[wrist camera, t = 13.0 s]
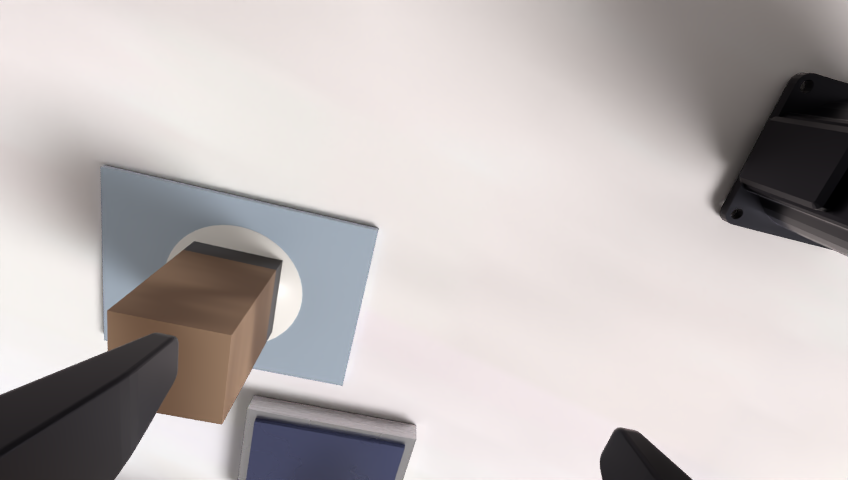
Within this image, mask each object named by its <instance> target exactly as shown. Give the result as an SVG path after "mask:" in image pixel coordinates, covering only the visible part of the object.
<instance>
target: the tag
mask: <svg viewBox="0 0 848 480" xmlns="http://www.w3.org/2000/svg"><path fill="white" fill-rule="evenodd" d="M101 208H102V256H103V305H104V340H106V341H108V337H107V310H108V309H110V308H111V307H112V306H113V305H115V304H116V303H117V302H118V301H120V300H121V299H122V298H124V297H125V296H126V295H127V294H129V293H130V292H131V291H132V290H134V289H135V288H136V287H137V286H139V285H140V284H141V283H142V282H144V281H145V280H146V279H147V278H149V277H150V276H151V275H152V274H154V273H155V272H156V271H157V270H159V269H160V268H161V267H162V266H164V265H165V264H166V263H167V262H169V261H170V260H171V259H172V258H174V257H175V256H176V255H177V254H179V253H180V252H181V251H182V250H184V249H185V248H186V247H187V246H189V245H190V244H191V243H192V242H194V241H196V242H201V243H205V244H210V245H214V246H219V247H223V248H228V249H233V250H237V251H242V252H246V253H251V254H255V255H260V256H264V257H269V258H274V259H278V260H283V262H282V269H281V276H280V283H279V289H278V296H277V303H276V309H275V316H274V323H273V330H272V333H271V335H270V337H269V339H268V340H267V342H266V344H265V346H264V348H263V350H262V351H261V353H260V355H259V357H258V359H257V361H256V363H255V364H254V366H253V368H252V369H257V370H263V371H268V372H273V373H278V374H283V375H289V376H294V377H299V378H304V379H310V380H315V381H320V382H325V383H330V384H336V385H341V386H342V385H343V381H344V376H345V372H346V368H347V363H348V359H349V355H350V350H351V346H352V342H353V337H354V333H355V329H356V324H357V320H358V316H359V311H360V307H361V303H362V298H363V294H364V290H365V285H366V281H367V277H368V272H369V268H370V264H371V259H372V255H373V251H374V246H375V242H376V238H377V233H378V229H379V228H374V227H370V226H366V225H361V224H357V223H353V222H349V221H344V220H340V219H336V218H331V217H327V216H323V215H318V214H314V213H310V212H305V211H301V210H297V209H292V208H288V207H284V206H279V205H275V204H271V203H266V202H262V201H258V200H254V199H249V198H245V197H241V196H236V195H232V194H228V193H223V192H219V191H215V190H210V189H206V188H202V187H197V186H193V185H189V184H184V183H180V182H176V181H171V180H167V179H163V178H158V177H154V176H150V175H146V174H141V173H137V172H133V171H128V170H124V169H120V168H115V167H111V166H107V165H104V166H101Z"/></svg>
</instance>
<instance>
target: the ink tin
mask: <svg viewBox="0 0 848 480" xmlns="http://www.w3.org/2000/svg"><path fill="white" fill-rule="evenodd" d="M415 441H416V425H412V424H407V423H402V422H396V421H391V420H386V419H380V418H375V417H369V416H364V415H359V414H353V413H348V412H342V411H337V410H332V409H326V408H321V407H316V406H310V405H305V404H299V403H294V402H289V401H283V400H278V399H272V398H267V397H262V396H256V395H254V396H253V398H252V400H251V402H250V404H249V406H248V408H247V415H246V422H245V430H244V437H243V445H242V452H241V460H240V467H239V475H238V480H403V478H404V475H405V472H406V469H407V466H408V463H409V460H410V457H411V454H412V451H413V447H414V444H415Z"/></svg>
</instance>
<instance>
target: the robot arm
mask: <svg viewBox="0 0 848 480" xmlns="http://www.w3.org/2000/svg"><path fill="white" fill-rule="evenodd" d="M804 81H805V88H804V89H803V90H802V91H801V89H800V87H801V85H802V83H803V82H804ZM735 209H737V212H736V213H735V215H733V216H731V214H732V212H733V211H734V210H735ZM720 217H721V218H722V220H724V221H726V222H728V223H730V224H733V225H737V226H741V227H745V228H749V229H752V230H756V231H760V232H764V233H768V234H772V235H776V236H780V237H784V238H788V239H792V240H796V241H800V242H804V243H808V244H811V245H815V246H819V247H823V248H827V249H831V250H834V251H837V252H839V253H841V254H843V255H845V256H848V83H844V82H841V81H838V80H834V79H831V78H828V77H824V76H821V75H818V74H814V73H800V74H797V75H795V76H794V77H792V78H791V79H790V81H789V82H788V84H787V86H786V88H785V89H784V91H783V93H782V95H781V97H780V99H779V101H778V103H777V105H776V106H775V108H774V110H773V112H772V114H771V116H770V118H769V120H768V121H767V123H766V125H765V127H764V129H763V131H762V133H761V135H760V137H759V138H758V140H757V142H756V144H755V146H754V148H753V150H752V152H751V153H750V155H749V157H748V159H747V161H746V163H745V165H744V167H743V168H742V170H741V172H740V174H739V176H738V178H737V180H736V182H735V184H734V185H733V187H732V189H731V191H730V193H729V195H728V197H727V199H726V200H725V202H724V204H723V206H722V208H721V211H720ZM178 348H179V342H178V339H177V337H175V336H172V335H168V334H163V333H152V334H149V335H147V336H144V337H142V338H139V339H137V340H134V341H132V342H129V343H127V344H124V345H122V346H120V347H117V348H115V349H112V350H110V351H107V352H105V353H102V354H100V355H97V356H95V357H92V358H90V359H88V360H85V361H83V362H80V363H78V364H75V365H73V366H70V367H68V368H65V369H63V370H60V371H58V372H55V373H53V374H51V375H48V376H46V377H43V378H41V379H38V380H36V381H33V382H31V383H28V384H26V385H23V386H21V387H19V388H16V389H14V390H11V391H9V392H6V393H4V394H1V395H0V480H114V479H115V478H116V477H117V475H118V474H119V472H120V471H121V470H122V468H123V467H124V465H125V464H126V462H127V461H128V460H129V458H130V457H131V455H132V453H133V452H134V450H135V449H136V447H137V445H138V444H139V442H140V440H141V438H142V437H143V435H144V433H145V432H146V430H147V428H148V426H149V425H150V423H151V421H152V419H153V418H154V416H155V414H156V412H157V411H158V409H159V407H160V406H161V404H162V402H163V400H164V399H165V397H166V395H167V393H168V392H169V390H170V388H171V386H172V385H173V383H174V381H175V379H176V376H177V372H178ZM600 470H601V475H602V480H692V479H691V478H690V477H689V476H688V475H687V474H686V473H684V472H683V471H682V470H681V469H680V468H679V467H678V466H677V465H675V464H674V463H673V462H672V461H671V460H670V459H669V458H668V457H666V456H665V455H664V454H663V453H662V452H661V451H660V450H659V449H657V448H656V447H655V446H654V445H653V444H652V443H651V442H650V441H648V440H647V439H646V438H645V437H644V436H643V435H642V434H641V433H639V432H638V431H635V430H631V429H626V428H617V429H615V430H614V432H613V433H612V435H611V437H610V439H609V441H608V443H607V445H606V446H605V448H604V450H603V452H602V454H601V457H600Z"/></svg>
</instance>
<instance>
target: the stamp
mask: <svg viewBox="0 0 848 480" xmlns="http://www.w3.org/2000/svg"><path fill="white" fill-rule="evenodd" d="M282 262H283V260H278V259H274V258H269V257H264V256H260V255H255V254H251V253H246V252H242V251H237V250H233V249H228V248H223V247H219V246H214V245H210V244H205V243H201V242H196V241H194V242H192V243H191V244H190V245H189V246H187V247H186V248H185V249H184V250H182V251H181V252H180V253H179V254H177V255H176V256H175V257H174V258H172V259H171V260H170V261H169V262H167V263H166V264H165V265H164V266H162V267H161V268H160V269H159V270H157V271H156V272H155V273H154V274H152V275H151V276H150V277H149V278H147V279H146V280H145V281H144V282H142V283H141V284H140V285H139V286H137V287H136V288H135V289H134V290H132V291H131V292H130V293H129V294H127V295H126V296H125V297H124V298H122V299H121V300H120V301H118V302H117V303H116V304H115V305H113V306H112V307H111V308H110V309H108V310H107V337H108V351H110V350H112V349H115V348H117V347H120V346H122V345H124V344H127V343H129V342H132V341H134V340H137V339H139V338H142V337H144V336H147V335H149V334H152V333H163V334H168V335H172V336H175V337H177V339H178V342H179V348H178V372H177V376H176V379H175V381H174V383H173V385H172V386H171V388H170V390H169V392H168V393H167V395H166V397H165V399H164V400H163V402H162V404H161V406H160V407H159V409H158V411H157V412H156V413H160V414H166V415H172V416H177V417H183V418H188V419H194V420H200V421H205V422H211V423H216V424H222V423H223V422H224V420H225V418H226V416H227V414H228V412H229V410H230V409H231V407H232V405H233V403H234V401H235V399H236V398H237V396H238V394H239V392H240V390H241V388H242V386H243V385H244V383H245V381H246V379H247V377H248V375H249V374H250V372H251V370H252V368H253V366H254V364H255V363H256V361H257V359H258V357H259V355H260V353H261V351H262V350H263V348H264V346H265V344H266V342H267V340H268V339H269V337H270V335H271V333H272V330H273V323H274V316H275V309H276V303H277V296H278V289H279V283H280V276H281V269H282Z"/></svg>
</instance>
